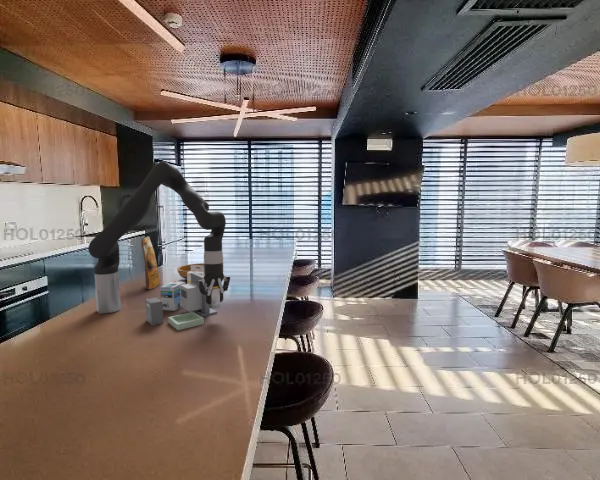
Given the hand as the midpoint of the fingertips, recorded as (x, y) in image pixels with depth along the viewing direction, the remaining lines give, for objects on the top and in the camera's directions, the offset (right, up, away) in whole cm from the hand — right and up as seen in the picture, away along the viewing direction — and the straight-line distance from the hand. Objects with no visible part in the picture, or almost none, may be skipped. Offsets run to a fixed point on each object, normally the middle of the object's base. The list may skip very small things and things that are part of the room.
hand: (214, 302), depth 144 cm
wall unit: (-11, -6, +11) cm, 17 cm away
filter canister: (0, -2, 0) cm, 2 cm away
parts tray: (-11, -8, -3) cm, 13 cm away
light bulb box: (-23, -5, +18) cm, 30 cm away
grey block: (-24, -8, -1) cm, 25 cm away
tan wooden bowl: (-26, +1, +69) cm, 74 cm away
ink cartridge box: (-19, -3, +40) cm, 44 cm away
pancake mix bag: (-49, -1, +56) cm, 74 cm away
